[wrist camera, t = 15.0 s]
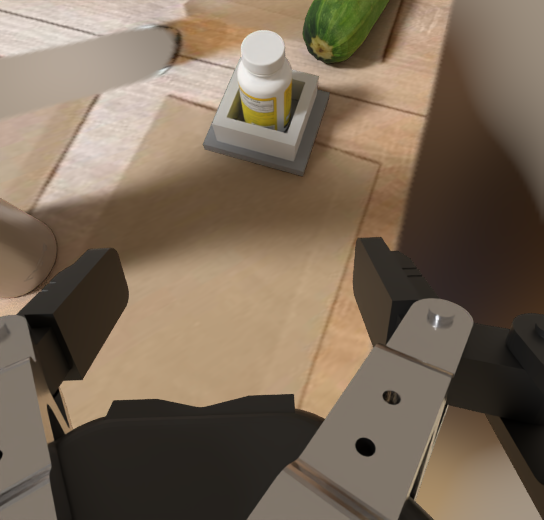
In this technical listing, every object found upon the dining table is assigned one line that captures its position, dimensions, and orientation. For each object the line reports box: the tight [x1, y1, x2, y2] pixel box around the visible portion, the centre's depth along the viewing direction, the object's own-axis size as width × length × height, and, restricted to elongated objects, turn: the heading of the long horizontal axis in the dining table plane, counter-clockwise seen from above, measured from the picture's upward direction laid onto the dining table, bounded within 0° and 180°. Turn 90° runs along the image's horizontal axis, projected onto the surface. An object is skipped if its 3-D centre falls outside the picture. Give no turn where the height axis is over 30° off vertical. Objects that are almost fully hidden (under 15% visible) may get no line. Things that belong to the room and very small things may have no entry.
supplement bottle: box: [237, 30, 292, 132], centre depth 36 cm, size 5×5×10 cm
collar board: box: [203, 57, 330, 176], centre depth 40 cm, size 12×11×4 cm
